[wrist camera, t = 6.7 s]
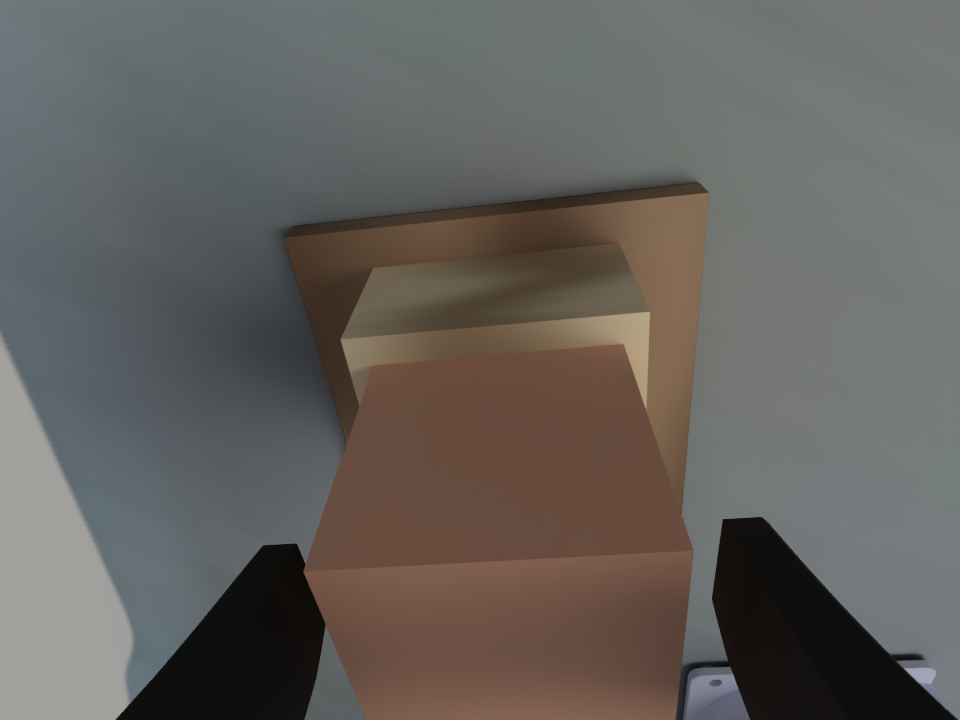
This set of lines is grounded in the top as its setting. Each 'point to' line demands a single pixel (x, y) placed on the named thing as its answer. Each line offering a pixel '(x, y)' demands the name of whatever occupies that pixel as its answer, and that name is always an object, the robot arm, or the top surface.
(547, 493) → the terracotta block
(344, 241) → the base plate
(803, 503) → the top surface
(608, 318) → the birch block
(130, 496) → the top surface
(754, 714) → the robot arm
